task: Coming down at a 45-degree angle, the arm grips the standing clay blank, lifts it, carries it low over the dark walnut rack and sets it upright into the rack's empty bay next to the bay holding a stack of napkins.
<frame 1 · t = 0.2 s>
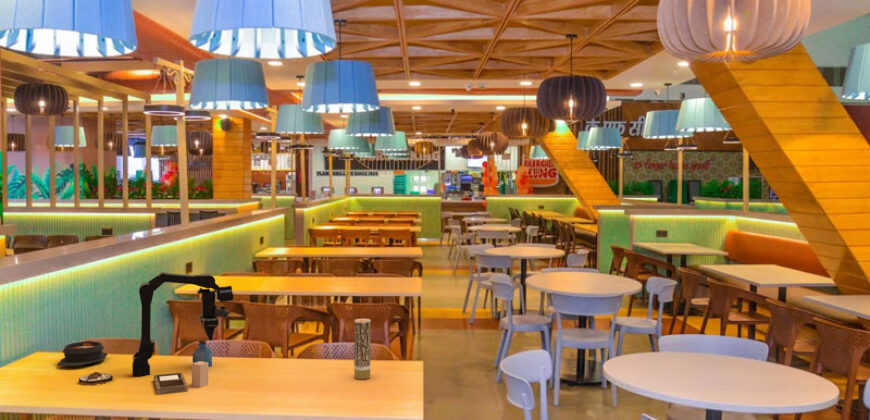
hand: (209, 338, 311), 14 cm above the table, tool pointing down, fingers open, 9 cm apart
perfume bottle: (202, 367, 317), on the table
napkin stack: (169, 382, 290), point 1 cm above the table, touching rack
rack: (170, 387, 285), on the table
casserole: (83, 363, 322), on the table
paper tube: (362, 378, 303), on the table
sushi roll: (96, 382, 293), on the table
clay blank: (200, 387, 286), on the table
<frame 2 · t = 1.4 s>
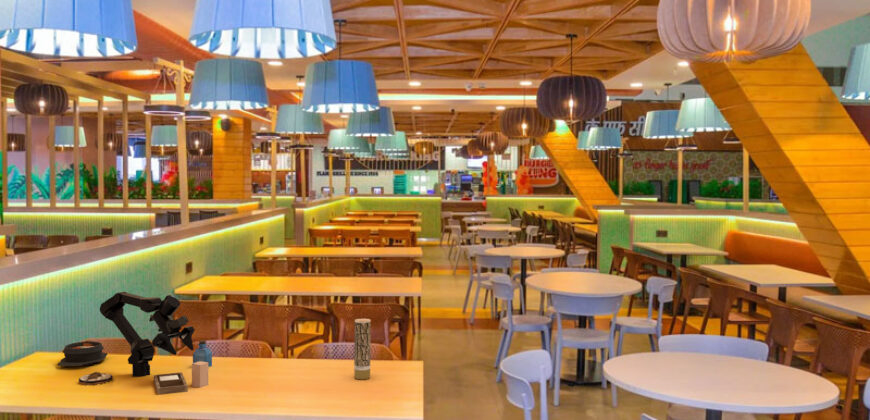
hand: (184, 352, 289), 13 cm above the table, tool tilted 45°, fingers open, 9 cm apart
nothing on the table moved.
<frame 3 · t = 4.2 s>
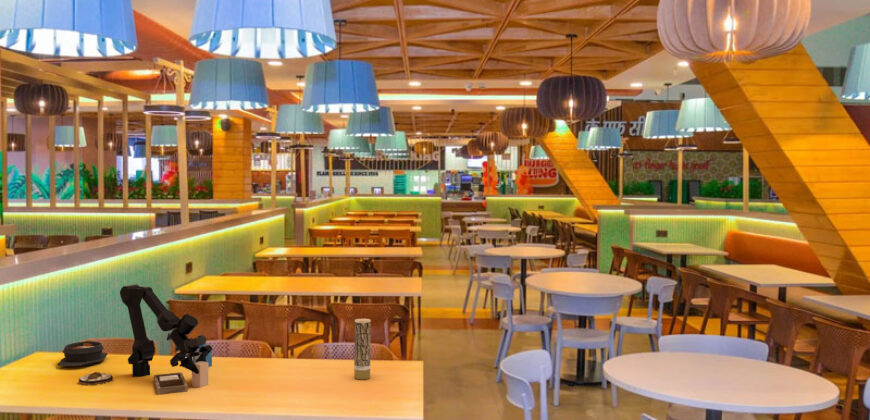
hand: (202, 371, 285), 7 cm above the table, tool tilted 45°, fingers closed on clay blank, 4 cm apart
clay blank: (200, 387, 286), on the table, touching gripper
everything else where it was.
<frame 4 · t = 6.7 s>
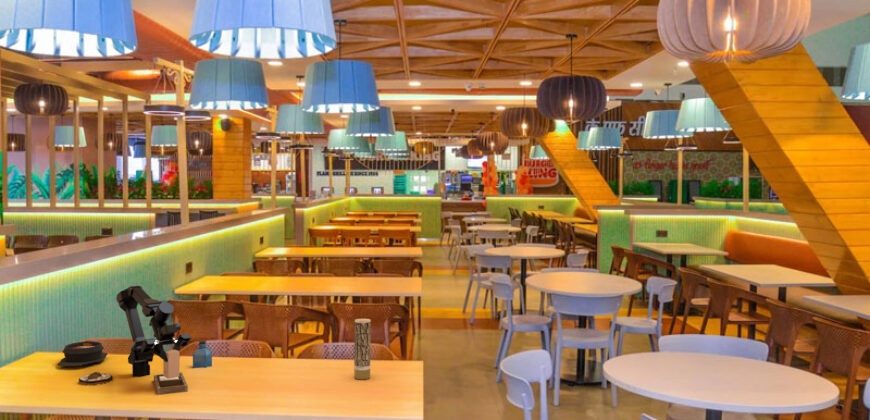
hand: (173, 360, 279), 13 cm above the table, tool tilted 45°, fingers closed on clay blank, 4 cm apart
clay blank: (171, 376, 280), point 6 cm above the table, touching gripper
everything else where it was.
when the fingers open (8 cm above the table, at t = 7.7 s): clay blank drops 1 cm, resting on rack.
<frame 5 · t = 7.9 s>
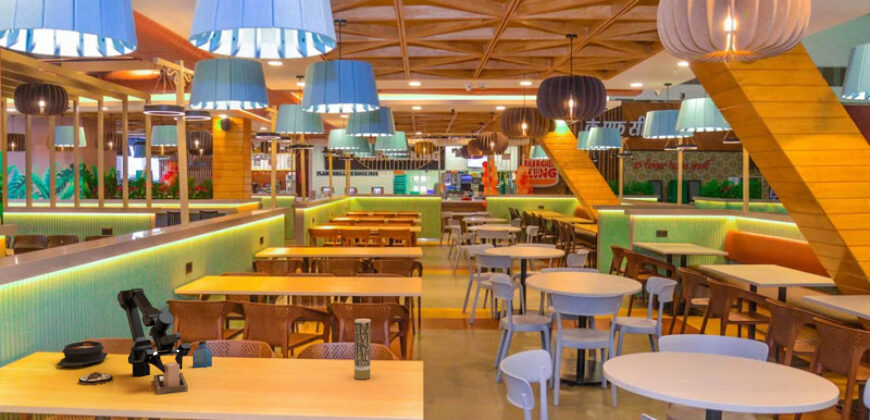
hand: (173, 370, 279), 9 cm above the table, tool tilted 45°, fingers open, 7 cm apart
clay blank: (171, 389, 280), point 1 cm above the table, touching rack
everything else where it was.
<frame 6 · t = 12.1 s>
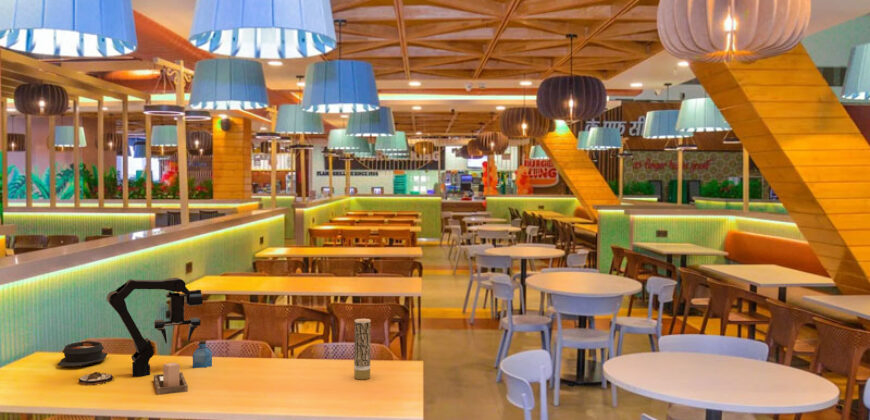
hand: (177, 342, 308), 13 cm above the table, tool pointing down, fingers open, 9 cm apart
nothing on the table moved.
at the end: clay blank 0.0 cm from the target spot on the rack, point 0.8 cm above the rack's base; clay blank tilted 0°; the gripper is holding nothing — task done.
